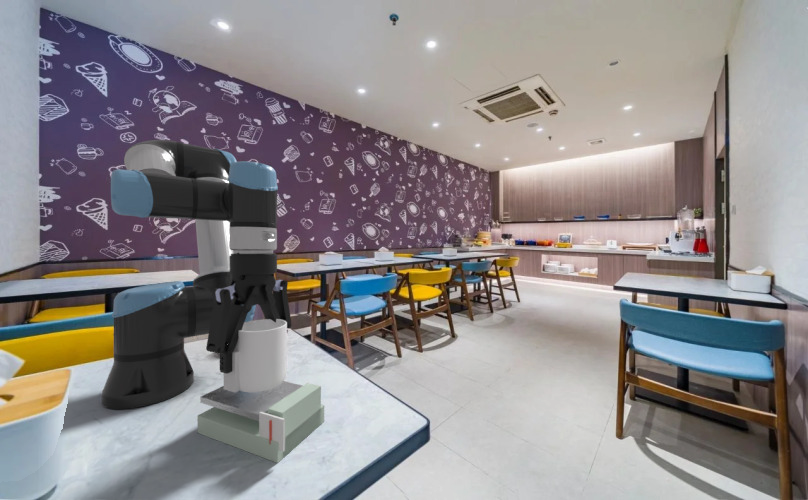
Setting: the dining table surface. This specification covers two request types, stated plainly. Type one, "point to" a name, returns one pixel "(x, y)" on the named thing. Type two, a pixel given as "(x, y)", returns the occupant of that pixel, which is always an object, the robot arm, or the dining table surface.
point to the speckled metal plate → (248, 399)
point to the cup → (262, 354)
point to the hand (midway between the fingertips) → (254, 378)
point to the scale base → (268, 424)
